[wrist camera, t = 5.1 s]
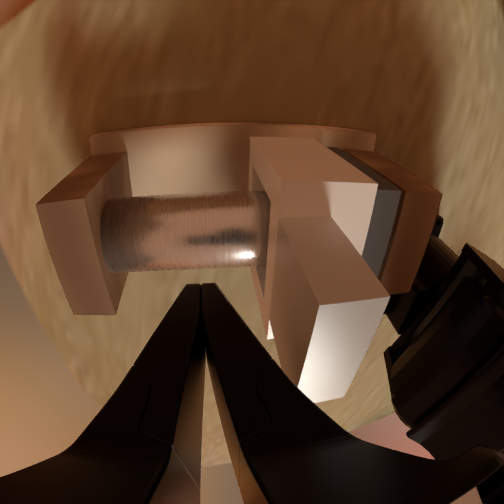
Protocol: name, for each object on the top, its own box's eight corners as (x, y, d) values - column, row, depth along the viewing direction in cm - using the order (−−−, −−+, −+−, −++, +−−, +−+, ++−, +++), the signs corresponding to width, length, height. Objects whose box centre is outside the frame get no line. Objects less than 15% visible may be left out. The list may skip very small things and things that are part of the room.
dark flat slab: (337, 147, 13) (401, 191, 9) (322, 246, 16) (363, 316, 12) (314, 146, 13) (371, 189, 9) (302, 247, 16) (338, 320, 12)
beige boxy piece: (312, 138, 13) (454, 248, 5) (300, 248, 17) (371, 403, 9) (250, 136, 13) (330, 255, 5) (246, 251, 16) (286, 421, 8)
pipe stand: (368, 130, 15) (448, 170, 9) (349, 235, 19) (402, 307, 13) (95, 133, 13) (29, 177, 7) (114, 246, 17) (81, 331, 11)
